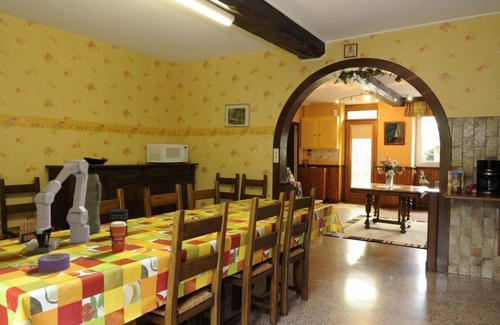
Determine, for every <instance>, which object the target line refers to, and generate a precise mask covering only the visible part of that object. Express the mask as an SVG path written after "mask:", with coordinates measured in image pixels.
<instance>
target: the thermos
mask: <svg viewBox="0 0 500 325" xmlns="http://www.w3.org/2000/svg"><path fill="white" fill-rule="evenodd" d="M101 199H102V183H101V182H100V177H99V175H98V174H97V173H88V178H87V187H86V195H85V204H84V208H85V209H86V210H87V211H88V222H87V223H86V225H89V228H90V235H96V234H100V232H101V220H100V204H101Z"/></svg>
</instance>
